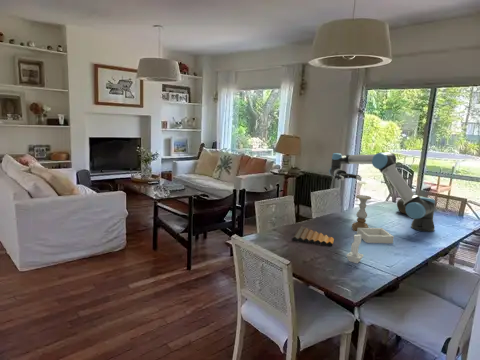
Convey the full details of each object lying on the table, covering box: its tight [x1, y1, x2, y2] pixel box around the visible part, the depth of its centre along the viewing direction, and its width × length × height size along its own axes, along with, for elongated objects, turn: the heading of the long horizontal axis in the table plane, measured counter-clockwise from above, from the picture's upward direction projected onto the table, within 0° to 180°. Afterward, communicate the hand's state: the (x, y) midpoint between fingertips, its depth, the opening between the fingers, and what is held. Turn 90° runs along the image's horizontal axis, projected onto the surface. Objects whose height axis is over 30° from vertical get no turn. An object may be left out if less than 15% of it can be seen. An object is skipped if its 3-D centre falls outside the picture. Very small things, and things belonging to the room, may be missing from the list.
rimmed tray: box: [356, 227, 395, 244], centre depth 230 cm, size 17×17×4 cm
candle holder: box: [351, 194, 372, 232], centre depth 247 cm, size 11×11×24 cm
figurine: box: [346, 234, 365, 264], centre depth 190 cm, size 7×9×15 cm
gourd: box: [396, 195, 424, 215], centre depth 295 cm, size 25×25×17 cm
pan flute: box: [291, 225, 335, 247], centre depth 229 cm, size 25×3×25 cm
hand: (352, 178), depth 260 cm, fingers open, 13 cm apart
